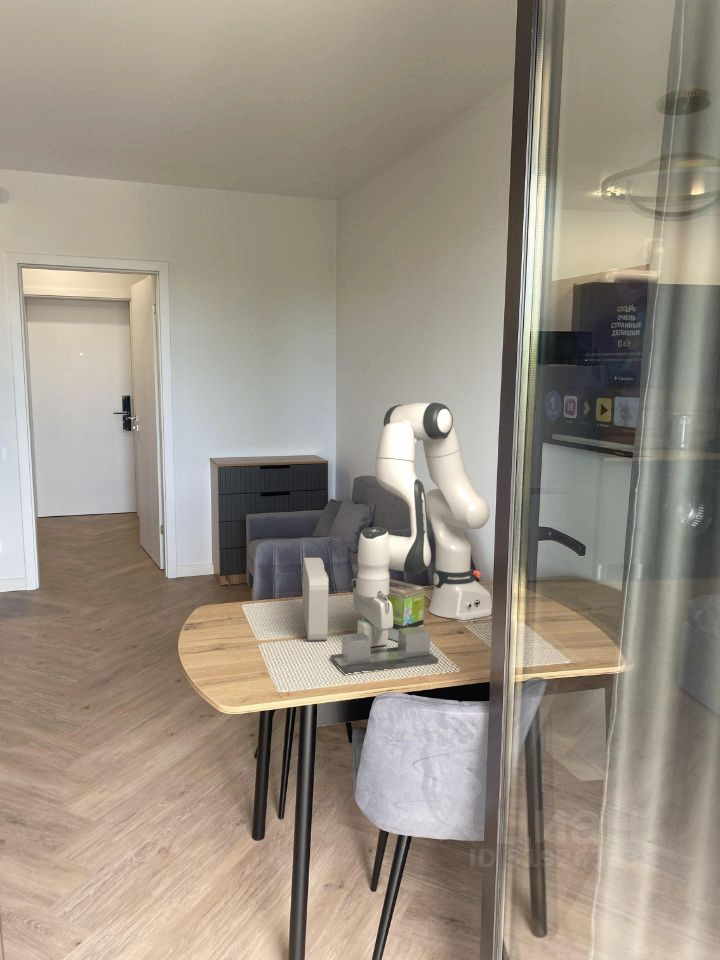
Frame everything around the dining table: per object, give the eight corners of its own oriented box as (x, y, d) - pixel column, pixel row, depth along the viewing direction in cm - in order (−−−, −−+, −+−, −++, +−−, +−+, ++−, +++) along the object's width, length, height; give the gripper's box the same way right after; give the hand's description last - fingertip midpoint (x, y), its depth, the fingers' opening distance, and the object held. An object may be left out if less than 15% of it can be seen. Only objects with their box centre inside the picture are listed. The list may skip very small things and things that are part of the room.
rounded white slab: (335, 642, 206) (336, 580, 203) (308, 643, 205) (309, 580, 202) (326, 610, 234) (327, 555, 231) (302, 611, 233) (302, 555, 230)
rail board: (419, 648, 203) (420, 622, 202) (438, 663, 192) (439, 635, 191) (330, 659, 193) (330, 632, 192) (344, 675, 183) (345, 646, 182)
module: (380, 638, 208) (380, 617, 207) (387, 644, 203) (388, 622, 202) (357, 641, 205) (357, 619, 204) (364, 647, 201) (364, 625, 200)
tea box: (424, 635, 213) (426, 586, 211) (402, 644, 206) (404, 593, 204) (384, 623, 223) (386, 575, 221) (362, 631, 216) (363, 582, 214)
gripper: (399, 596, 194) (398, 646, 196) (369, 576, 212) (369, 622, 214) (377, 599, 191) (376, 649, 193) (349, 578, 210) (348, 625, 212)
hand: (372, 635), depth 204 cm, fingers closed on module, 5 cm apart
